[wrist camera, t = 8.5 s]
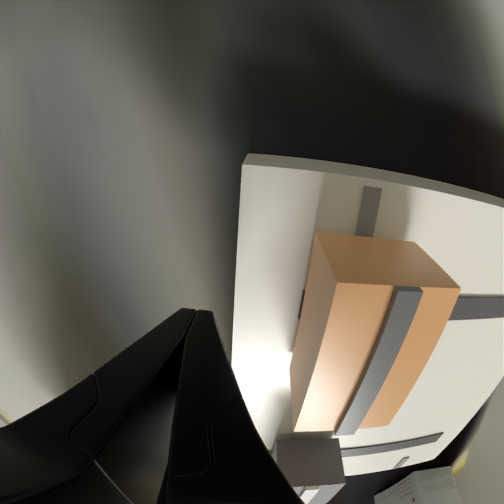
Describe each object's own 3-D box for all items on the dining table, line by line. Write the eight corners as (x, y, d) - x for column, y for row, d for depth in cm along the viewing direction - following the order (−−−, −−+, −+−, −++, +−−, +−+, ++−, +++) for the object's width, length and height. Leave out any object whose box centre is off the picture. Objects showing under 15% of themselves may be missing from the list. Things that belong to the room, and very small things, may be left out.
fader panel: (231, 440, 18) (227, 478, 15) (247, 152, 10) (241, 164, 7) (423, 430, 18) (434, 460, 15) (534, 208, 10) (571, 230, 7)
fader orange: (289, 369, 10) (294, 436, 7) (315, 231, 8) (339, 288, 5) (369, 369, 10) (389, 430, 7) (414, 241, 8) (465, 292, 5)
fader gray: (265, 476, 14) (264, 516, 11) (276, 439, 12) (276, 490, 9) (314, 475, 14) (318, 514, 11) (338, 437, 12) (346, 487, 9)
